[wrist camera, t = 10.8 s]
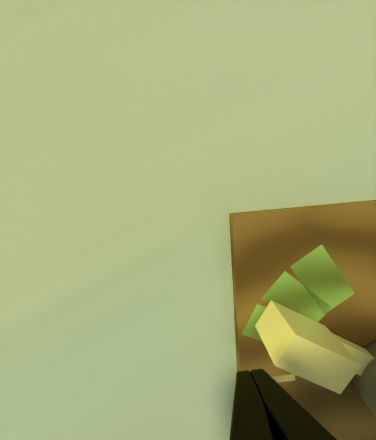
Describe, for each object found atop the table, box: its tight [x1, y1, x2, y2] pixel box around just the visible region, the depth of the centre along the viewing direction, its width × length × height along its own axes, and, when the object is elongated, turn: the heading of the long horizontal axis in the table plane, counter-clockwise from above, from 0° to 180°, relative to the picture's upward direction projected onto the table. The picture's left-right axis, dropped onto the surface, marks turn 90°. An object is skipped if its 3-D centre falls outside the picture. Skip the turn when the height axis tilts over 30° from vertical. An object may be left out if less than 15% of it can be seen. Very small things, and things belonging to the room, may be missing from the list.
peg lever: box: [255, 300, 376, 416], centre depth 18 cm, size 15×6×4 cm, turn 62°
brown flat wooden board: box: [229, 200, 376, 440], centre depth 21 cm, size 22×20×1 cm
